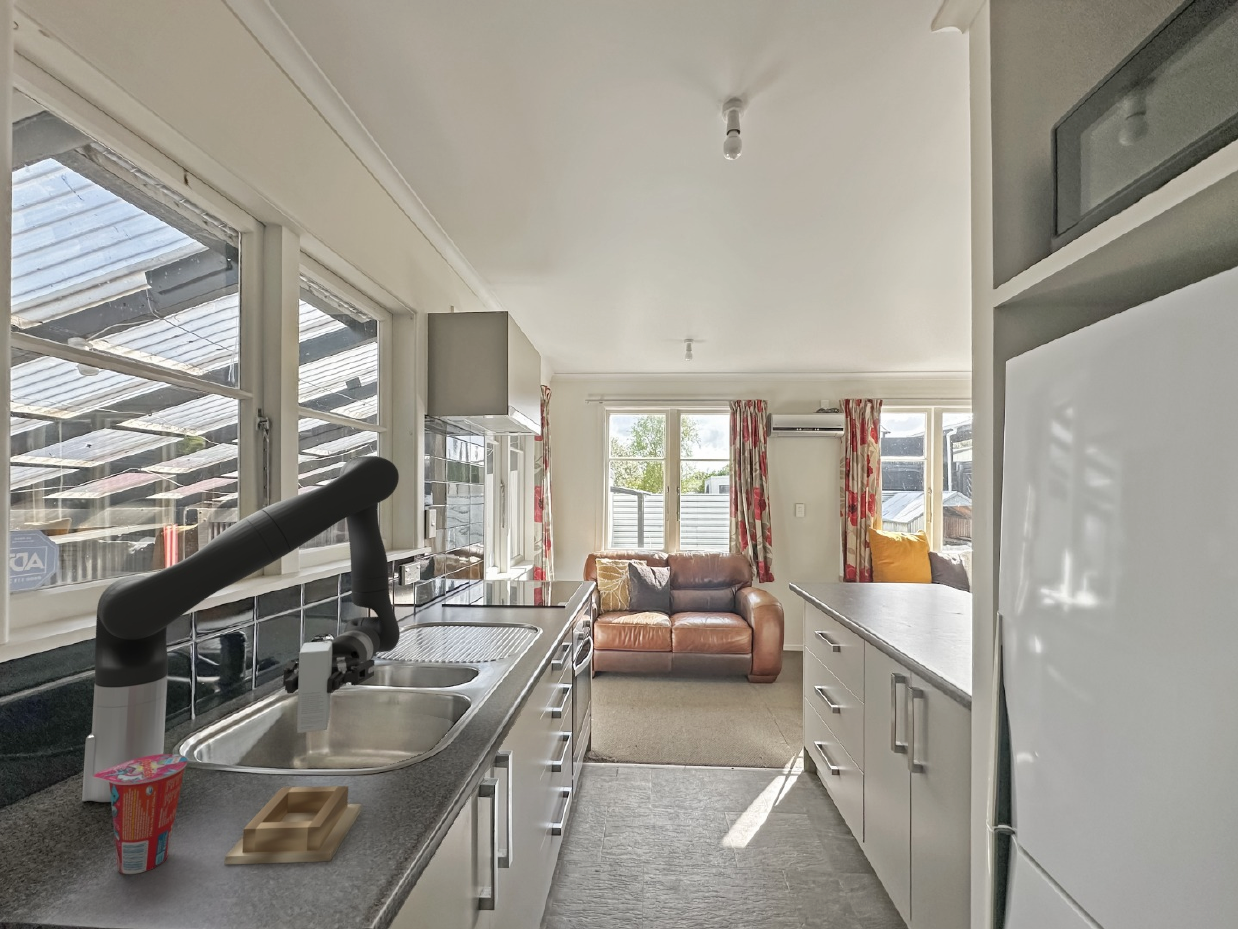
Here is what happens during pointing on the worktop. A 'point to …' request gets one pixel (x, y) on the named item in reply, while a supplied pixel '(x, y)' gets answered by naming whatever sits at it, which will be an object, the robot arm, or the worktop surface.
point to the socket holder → (297, 827)
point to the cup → (144, 808)
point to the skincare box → (314, 686)
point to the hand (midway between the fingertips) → (309, 686)
